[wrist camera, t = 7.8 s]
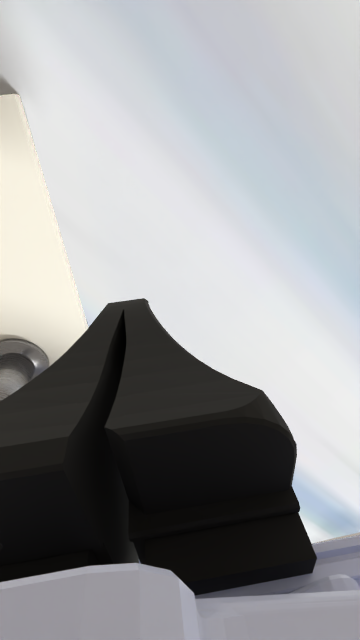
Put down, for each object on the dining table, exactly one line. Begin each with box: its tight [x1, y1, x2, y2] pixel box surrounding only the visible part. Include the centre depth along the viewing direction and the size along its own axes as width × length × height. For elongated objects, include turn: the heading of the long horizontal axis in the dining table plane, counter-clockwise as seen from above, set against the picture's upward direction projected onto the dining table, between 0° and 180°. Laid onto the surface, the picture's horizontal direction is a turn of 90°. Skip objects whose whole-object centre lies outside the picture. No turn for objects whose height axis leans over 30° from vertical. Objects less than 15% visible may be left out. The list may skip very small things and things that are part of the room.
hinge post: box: [0, 338, 49, 401], centre depth 19 cm, size 4×4×7 cm
